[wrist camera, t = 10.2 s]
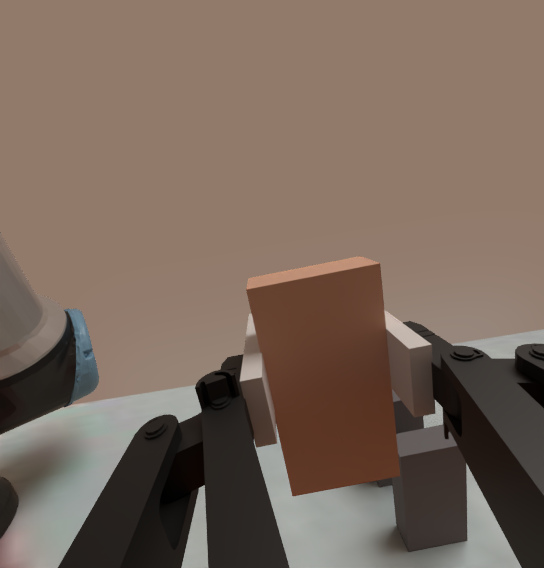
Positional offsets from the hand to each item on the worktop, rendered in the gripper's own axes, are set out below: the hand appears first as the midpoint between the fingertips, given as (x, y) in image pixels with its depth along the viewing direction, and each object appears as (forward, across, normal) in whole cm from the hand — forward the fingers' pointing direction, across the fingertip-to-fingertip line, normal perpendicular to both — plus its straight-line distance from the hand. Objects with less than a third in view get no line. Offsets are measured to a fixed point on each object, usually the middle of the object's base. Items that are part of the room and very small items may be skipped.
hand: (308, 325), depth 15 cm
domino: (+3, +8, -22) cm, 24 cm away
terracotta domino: (-4, 0, -6) cm, 7 cm away
